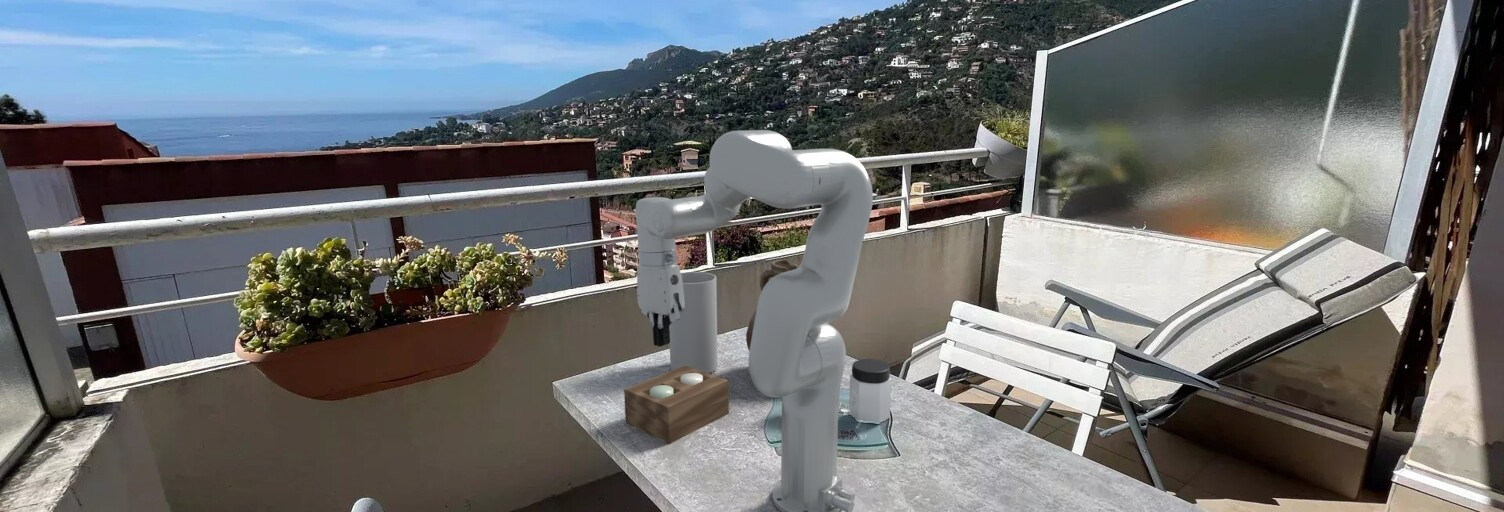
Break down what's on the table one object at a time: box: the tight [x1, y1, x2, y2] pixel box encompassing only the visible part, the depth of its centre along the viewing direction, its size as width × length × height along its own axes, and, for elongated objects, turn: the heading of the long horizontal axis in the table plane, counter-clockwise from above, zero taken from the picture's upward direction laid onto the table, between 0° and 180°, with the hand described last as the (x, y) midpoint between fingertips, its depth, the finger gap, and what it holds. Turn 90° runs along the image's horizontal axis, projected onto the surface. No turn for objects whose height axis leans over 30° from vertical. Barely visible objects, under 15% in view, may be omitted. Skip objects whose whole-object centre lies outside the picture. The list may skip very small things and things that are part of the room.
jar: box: [848, 358, 892, 423], centre depth 141 cm, size 9×8×12 cm
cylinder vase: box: [669, 271, 719, 374], centre depth 167 cm, size 12×12×25 cm
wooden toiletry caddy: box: [623, 365, 730, 445], centre depth 140 cm, size 14×18×8 cm
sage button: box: [650, 385, 674, 400], centre depth 136 cm, size 5×5×4 cm
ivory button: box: [681, 373, 703, 386], centre depth 143 cm, size 5×5×4 cm
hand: (662, 344), depth 133 cm, fingers closed
